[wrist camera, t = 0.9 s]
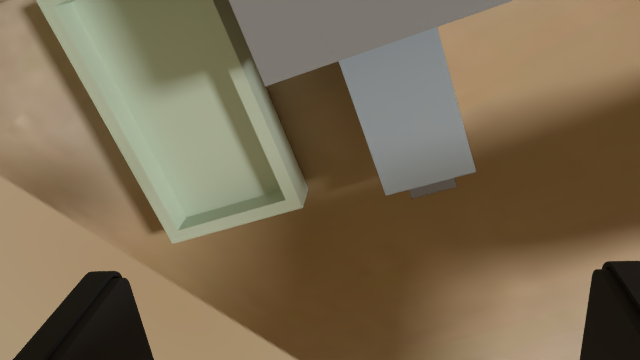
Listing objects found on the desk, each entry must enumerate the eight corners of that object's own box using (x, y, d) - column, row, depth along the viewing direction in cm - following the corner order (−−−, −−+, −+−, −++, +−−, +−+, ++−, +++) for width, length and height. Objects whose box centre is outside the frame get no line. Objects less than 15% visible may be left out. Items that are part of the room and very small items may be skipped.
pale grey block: (403, -84, 26) (406, -86, 21) (465, 144, 31) (481, 189, 26) (319, -50, 28) (301, -44, 22) (391, 164, 32) (391, 212, 27)
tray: (199, -72, 28) (182, -71, 25) (308, 189, 34) (302, 207, 31) (60, -9, 30) (33, -4, 28) (185, 224, 36) (172, 243, 34)
